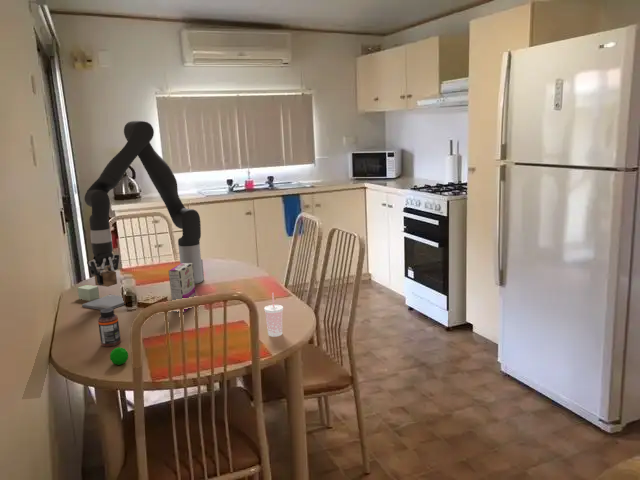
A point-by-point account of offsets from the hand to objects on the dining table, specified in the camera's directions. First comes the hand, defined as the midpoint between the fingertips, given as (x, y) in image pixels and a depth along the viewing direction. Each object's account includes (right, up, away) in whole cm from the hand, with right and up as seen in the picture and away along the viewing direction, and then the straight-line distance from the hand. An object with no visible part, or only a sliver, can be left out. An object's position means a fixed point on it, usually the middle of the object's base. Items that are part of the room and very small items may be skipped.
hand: (106, 282), depth 211 cm
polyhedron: (+26, -19, -56) cm, 65 cm away
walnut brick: (0, -1, 0) cm, 1 cm away
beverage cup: (+70, -14, -37) cm, 81 cm away
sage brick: (-11, -7, +10) cm, 17 cm away
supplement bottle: (+18, -16, -40) cm, 47 cm away
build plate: (0, -8, +2) cm, 9 cm away
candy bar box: (+33, -9, -7) cm, 35 cm away
